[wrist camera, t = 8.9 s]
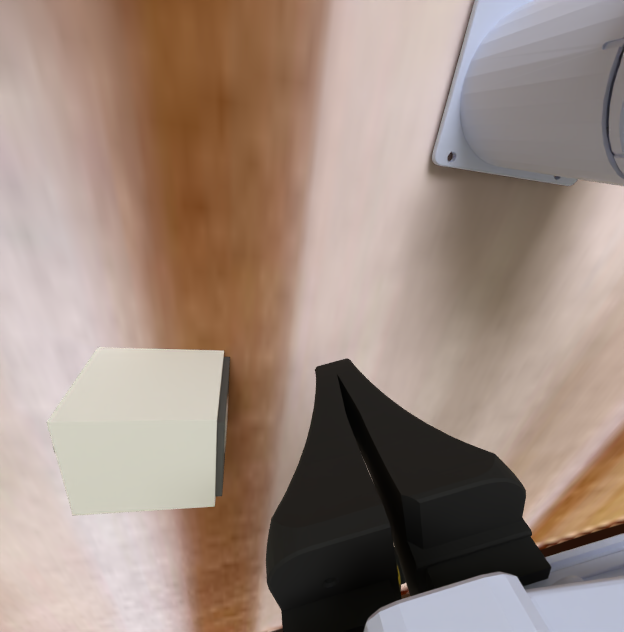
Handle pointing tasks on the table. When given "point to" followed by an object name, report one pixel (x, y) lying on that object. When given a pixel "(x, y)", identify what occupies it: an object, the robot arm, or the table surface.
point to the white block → (143, 430)
